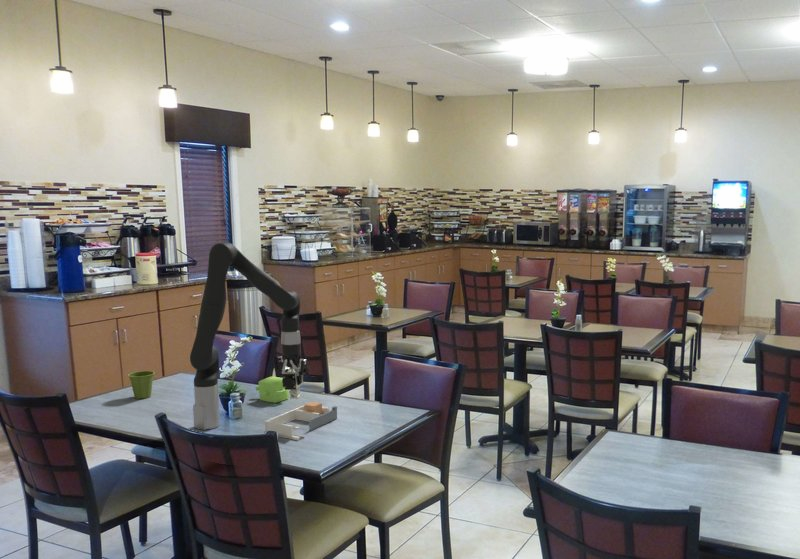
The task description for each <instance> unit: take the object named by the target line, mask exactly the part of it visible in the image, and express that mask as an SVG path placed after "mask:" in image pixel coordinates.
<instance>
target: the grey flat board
mask: <svg viewBox="0 0 800 559" xmlns="http://www.w3.org/2000/svg"><path fill="white" fill-rule="evenodd" d="M337 419H338V407H337V406H335V405H334V406H332V407H331V410H329V412H326V413H324V414H322V415H320V416H317V417H315V418H313V419H310V420H309V422H308V425H309V426H308V429H309V431H313V430H315V429H318V428H319V427H322V426H324V425H325V424H328V423H330V422H333V421H335V420H337Z"/></svg>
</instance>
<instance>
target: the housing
mask: <svg viewBox="0 0 800 559" xmlns="http://www.w3.org/2000/svg"><path fill="white" fill-rule="evenodd" d="M329 411H330V408H329V407H327V406H322V414H324V413H326V412H329ZM317 416H320V413H314V412H309V411H305V404H303V405H301V406H299V407H297V408H294V409H292V410H288V411H287V412H283V413H282V414H279V415H276V416H274V417H271V418H268V419H265V421H264V433H266V432H267V431H269V430H274V431H276V432H277V433H278V436H277V437H280V438H284V439H289V440H293V441H294V440H295V441H300V440H302V439H304V438H305V436H299V435H296V434H294V430H298V429H301V428H302V427H303V426H302V425H301V424H295V423H294V424H287V423H290V422H292V421H294V420H298V421H304V422H308V423H309V420H310V419H313V418H315V417H317Z"/></svg>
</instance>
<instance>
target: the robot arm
mask: <svg viewBox="0 0 800 559" xmlns="http://www.w3.org/2000/svg"><path fill="white" fill-rule="evenodd" d="M208 255H209V256H208V264H207V265H208V266H207V276H206V282H205V285H204V290H203V294H202V300H201V304H200V309H199V316H198V322H197V326H196V327H197V328H196V335H195V337H194V342H193V344H192V348H191V350H190V351H191V352H190V355H189V361H190V365H191V366H192V367H193V368H194V369H195V370H196V371H195V376H194V378H193V391H194V393H193V394H194V395H193V396H194V404H193V405H192V412H193V413H192V414H193V428H194V429H199V430H203V431H207V430H211V429H216V428H218V427H219V426H220V424H221V422H220V404H219V381H218V379H219V377H220V376H219V375H220V355H219V351H218V349H217V347H216V346H214V341H215V337H216V334H217V333H218V330H219V328H220V325H221V323H222V322H223V319H224V315H225V311H226V310H225V309H226V304H227V288H226V287H227V286H226V281H227V280H226V279H227V274H228V271H229V267H230V268H232V269H234V270H236V271H237V272H239V273H240V274H241V275H242V276H244V277H245V279H246V280H247V281H248V282H249V283H250V285H252V286H253V287H255V288H256V289H257V290H259V291H260V292H261V293H262V294H264V295H265V296H267V297H268V298H269V299H270V300H271V301H272V302H273V303H274V304H275V305H276V306H277V307H279V308H280V309H282V317H281V320H280V321H281V322H280V326H281V327H280V328H281V332H280V333H281V334H280V336H281V337H280V339H281V340H280V341H281V342H280V343H281V344H280V346H281V354H282V355H280V356H278V357H276V359H275V360H276V365H277V371H278V373H281V374H282V375H283V374H284V372H286V371H289V370H290V369H292V368H293V369H294V371H295V372H296V374H297V384H298V385H300V384H301V383H302V375H303V376H304V375H306V374H307V367H308V359H307V358H305V359H304V358H302V356H301V354H302V347H301V346H302V345H301V344H302V343H301V340H302V339H301V332H300V310H301V298H300V296H299V294H298V293H297V292H295V291H294V290H289V291H288V290H286V289H285V288H283V287H282V286H281V283H280V282H279V281H278V280H276V279H275V278H274V277H272V276H271V275H269V274H268V273H266V272H265V271H263V269H261V268H260V267H258V266H257V265H255V264H254V263H253V262H252V261H251V260H250V259H248V258H247V256H245V255H244V254H243V253H242V251H240V250H239V249H238V248H237V247H236V246H235V245H234V244H233V243H231V242H228V241H227V242H225V241H223V242H217V243H215V244H214V245H212V246H211V248H210V250H209V254H208Z"/></svg>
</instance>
